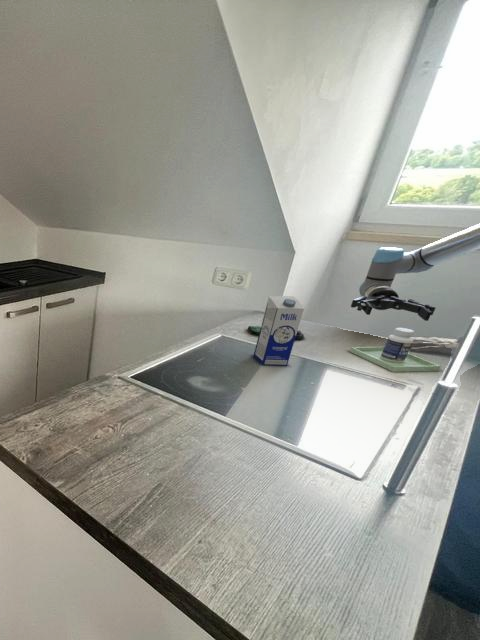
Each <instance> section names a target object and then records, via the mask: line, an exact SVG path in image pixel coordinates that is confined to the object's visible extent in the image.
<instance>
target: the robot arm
mask: <svg viewBox="0 0 480 640" xmlns="http://www.w3.org/2000/svg"><path fill="white" fill-rule="evenodd" d="M478 250H480V223H478V224H476V225H474V226H471V227H469V228H466V229H464V230H462V231H459V232H456V233H454V234H452V235H449V236H447V237H445V238H441V239H439V240H437V241H434V242H432V243H429V244H427V245H424V246H423V247H420V248H418V249H415V250H413V251H407V252H405V250H404V249H403V248H399V247H389V246H387V247H379V248H377V249H376V251H375V253H374V255H373V257H372V258H371V263H370V264H369V268H368V271H367V274H366V277H365V279H364V281H363V282H362V283H360V285H359V288H358V291H359V295H360V296H359V297H356V298H354V299H352V302H351V304H350V307H351V308H356V311H358V312H359V311H360V312H361V311H363V312H364V313H365V314H366V316H370V315H371V313H372V310H373V309H374V310H378V311H386V310H389V309H391V310H392V309H393V310H397V311H401V310H403V311H406V312H411V313H415V314H417V316H419V318H421V319H422V320H423V321H426V322H427V321H429V319H430V317H431V316H433V315H434V312H435V310H436V308H437V307H436V306H433V305H430V304H426V303H422V302H419V301H417V300H415V299H413V298H409V299H408V300H407V299H403V298H400V296H399V294H398V293H397V291H395V290H394V289H393V288H392V285H393V282H394V280H395V277H396V275H399V274H400V275H401V274H419V273H423V272H427V271H429V270H431V269H432V268H433V267H435V266H436V265H439V264H442V263H445V262H447V261H450V260H453V259H456V258H459V257H461V256H465V255H467V254H470V253H472V252H475V251H478Z"/></svg>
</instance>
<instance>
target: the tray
mask: <svg viewBox="0 0 480 640" xmlns="http://www.w3.org/2000/svg"><path fill="white" fill-rule="evenodd" d="M384 347H385V346H356V347H355V346H353V347H352V346H351V347H350V349H349V353H352V354H353V355H356V356H358V357H360V358H363V359H364V360H367V361H368V362H371V363H373V364H375V365H377V366H379V367H381V368H384V369H386V370H387V371H390V372H392V373H399V372H401V373H402V372H435V371H436V372H439V371H440V370H441V367H442V366H441V365H440V364H437V363H435V362H433V361H430V360H427V359H425V358H422V357H420V356H418V355H415V354H412V353H410V352H408V354H407V357H406V359H405V361H404V362H402V363H395V362H390V361H386V360H384V359H382V358H381V354H382V352H383V349H384Z"/></svg>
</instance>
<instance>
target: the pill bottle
mask: <svg viewBox="0 0 480 640" xmlns="http://www.w3.org/2000/svg"><path fill="white" fill-rule="evenodd" d="M414 333H415V332H414V330H413V329H410V328H406V327H395V329H394V331H393V333H392V334H390V335H389V336H388V337H387V339H386V342H385V344H384V346H383V347H384V349H383V352H382V354H381V358H382V359H384V360H386V361H390V362H395V363H402V362H404V361H405V359H406V357H407V354H408V353H410V350H411V347H412V346H413V343H414V339H413V337H412V336H413V335H414Z"/></svg>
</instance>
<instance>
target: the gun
mask: <svg viewBox="0 0 480 640" xmlns="http://www.w3.org/2000/svg"><path fill="white" fill-rule="evenodd" d="M260 329H261V326H255V325H249V326H247V330H248V332H249V333H250V334H251V335H253V336H259V333H260ZM304 335H305V334H304V333H303V332H302V331H301V330H298V331H297V334H296V337H295V341H299V340H300V341H301V340H303V339H304V338H305V336H304Z"/></svg>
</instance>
